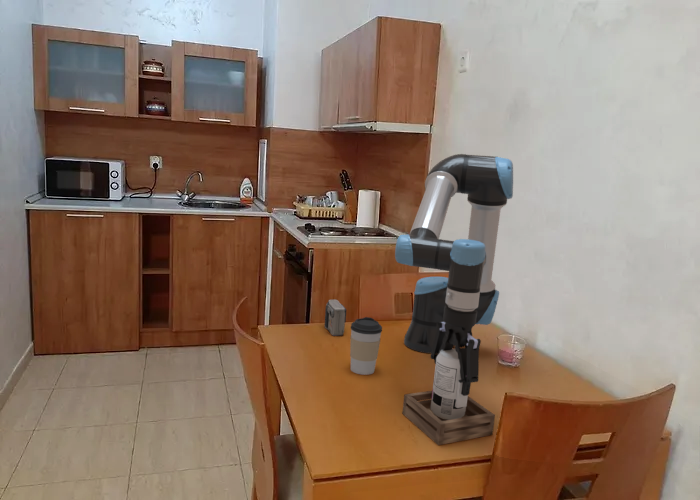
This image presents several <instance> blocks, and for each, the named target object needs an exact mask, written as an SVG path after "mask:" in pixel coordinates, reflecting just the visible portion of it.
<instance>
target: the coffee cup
mask: <svg viewBox="0 0 700 500" xmlns="http://www.w3.org/2000/svg"><path fill="white" fill-rule="evenodd" d="M350 325H351V326H350V331H351V334H350V355H349V356H350V371H351V372H353V373H355V374H358V375H365V376H366V375H367V376H368V375H372V374H374V372H375V369H376V364H377V359H378V355H379V354H378V353H379V351H380V350H379V349H380V344H381V335H382V332H383V326H382V325H381V324H380V323H379V322H378V321H377V320H375V319H374V318H373V317H370V316H369V317H368V316H366V317H365V316H364V317H362V318H357V319H354V321H353V322H352V323H351V324H350Z"/></svg>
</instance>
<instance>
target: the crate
mask: <svg viewBox="0 0 700 500" xmlns="http://www.w3.org/2000/svg"><path fill="white" fill-rule="evenodd" d="M432 391H433V390H428V391H420V392H419V391H418V392H413V393H412V392H411V393H407V394H406V393H405V394H404V396H403V404H402V411H401V413H402V415H403V416H405V417H406V418H407V419H408V420H409V421H410V422H411V423H413V424H414V425H415V426H416V427H417V428H418V429H419V430H421V432H423V433H424V434H425V435H426V436H427V437H428V438H429V439H430V440H432V441H433V442H434V443H435V444H436V445H437V446H440V445H446V444H451V443H456V442H461V441H467V440H472V439H477V438H481V437H486V436H492V435H493V433H494V425H495V418H496V414H495V413H494V412H491V410H489V409H487V408H485V406H483V405H481V404H480V403H479V402H477V401H476V400H474V399H473V398H471V397H470V396H469V395H468V398H467V406H466V411H465V415H464V416H463V417H461V418H457V419H452V420H447V419H442V418H440V417H438V416H436V415H435V414H434V413H433V411H432V410H431V399H432Z"/></svg>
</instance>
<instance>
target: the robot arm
mask: <svg viewBox="0 0 700 500" xmlns="http://www.w3.org/2000/svg"><path fill="white" fill-rule="evenodd" d="M424 187H425V191H424V194H423V197H422V199H421V202H420V204H419V207H418V210H417V212H416V215H415V218H414V221H413V224H412V226H411V229H410V232H409V234H408V233H407V234H400V235H399V236H398V237H397V239H396V244H395V248H394V249H395V250H394V258H395V261H396V262H397V263H398V264H402V265H404V266H405V265H407V266H409V267H416V268H424V269H425V268H426V269H433V270H439V271H445V272H446V271H447V272H448V277H446V276H425V277H422V278H419V279H418V280H417V281H416V283H415V287H414V288H415V289H414V292H413V293H414V299H413V304H412V305H413V307H412V316H411V322H410V323H409V326H408V329H407V331H406V333H405V335H404V338H403V339H404V340H403V344H404V345H405V346H406V347H407V348H408V349H411V350H414V351H416V352H419V353H420V352H421V353H427V354H430V358H431V360H433V361H434V365H436V358H437V356H438V354H439V353H440V351H441V350H442V349H443V351H444V350H452V349H455V350H456V352H457V353H458V359H459V362H460V374H461V380H458V388H457V395H456V403H455V407H456V408H461V407H466V406H467V398H468V396H469V395H470V391H471V387H472V383H478V382H479V371H480V370H479V366H480V364H479V363H480V361H479V357H480V356H479V355H480V354H479V353H480V346H481V339H480V338H475V337H474V336H473V333H472V330H473V327H475V325H483V326H488V325H489V324H490V325H491V323H492V321H493V318H494V315H495V312H496V309H497V304H498V300H499V296H500V291H499V290H497V289H496V284H495V282H494V281H493V280H492V278H493V270H494V262H495V256H496V255H495V254H496V247H497V239H498V234H499V233H498V230H499V225H500V224H499V223H500V216H501V209H502V208H504V207H505V206H506V205H507V203H508V200H511V199H512V198H513V196H514V164H513V161H512V160H511V159H509V158H506V157H498V156H491V155H480V154H479V155H478V154H476V155H475V154H466V153H465V154H464V153H459V154H453V155H449V156H448V157H446V158H444V159H442V160H441V161H439V162H437V164H435V165H434V166H433V167H432V168H431V169H430V171H429V172H428V173H427V176H426V179H425V181H424ZM456 194H462V195H463V194H464V195H467V202H468V203H469V204H470V206H471V209H470V218H469V227H468V229H469V230H468V236H467V239H466V238H460V239H455V240H448V239H442V238H441V239H440V237H441V233H442V229H443V226H444V222H445V219H446V215H447V213H448V209H449V206H450V202H451V199H452V197H454V196H455V195H456ZM453 347H454V348H453ZM466 375H467V377H466Z"/></svg>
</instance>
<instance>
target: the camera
mask: <svg viewBox="0 0 700 500" xmlns="http://www.w3.org/2000/svg"><path fill="white" fill-rule="evenodd" d="M346 322H347V308H346V307H345V306H344V305H343V304H342V303H340V301H339V300H338V299H328V302H326V304H325V314H324V328H325V329H326V330H328V332H329V333H330V335H331V336H333V337H335V336H343V335H344V333H345V325H346Z"/></svg>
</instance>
